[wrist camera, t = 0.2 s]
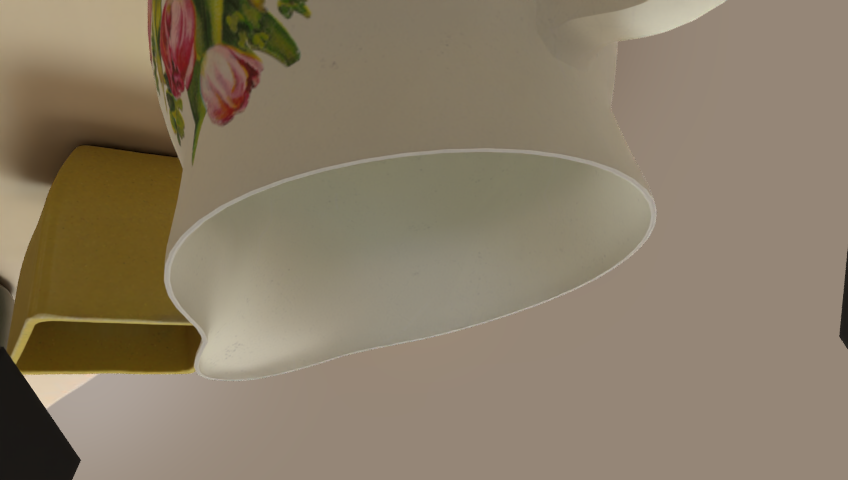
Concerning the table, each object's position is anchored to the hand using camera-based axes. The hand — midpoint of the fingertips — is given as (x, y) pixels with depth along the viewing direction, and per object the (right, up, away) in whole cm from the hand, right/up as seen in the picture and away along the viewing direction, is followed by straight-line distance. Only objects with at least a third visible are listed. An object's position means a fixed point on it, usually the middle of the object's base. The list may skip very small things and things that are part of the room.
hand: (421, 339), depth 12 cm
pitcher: (-1, +14, +9) cm, 16 cm away
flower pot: (-14, +5, +26) cm, 30 cm away
